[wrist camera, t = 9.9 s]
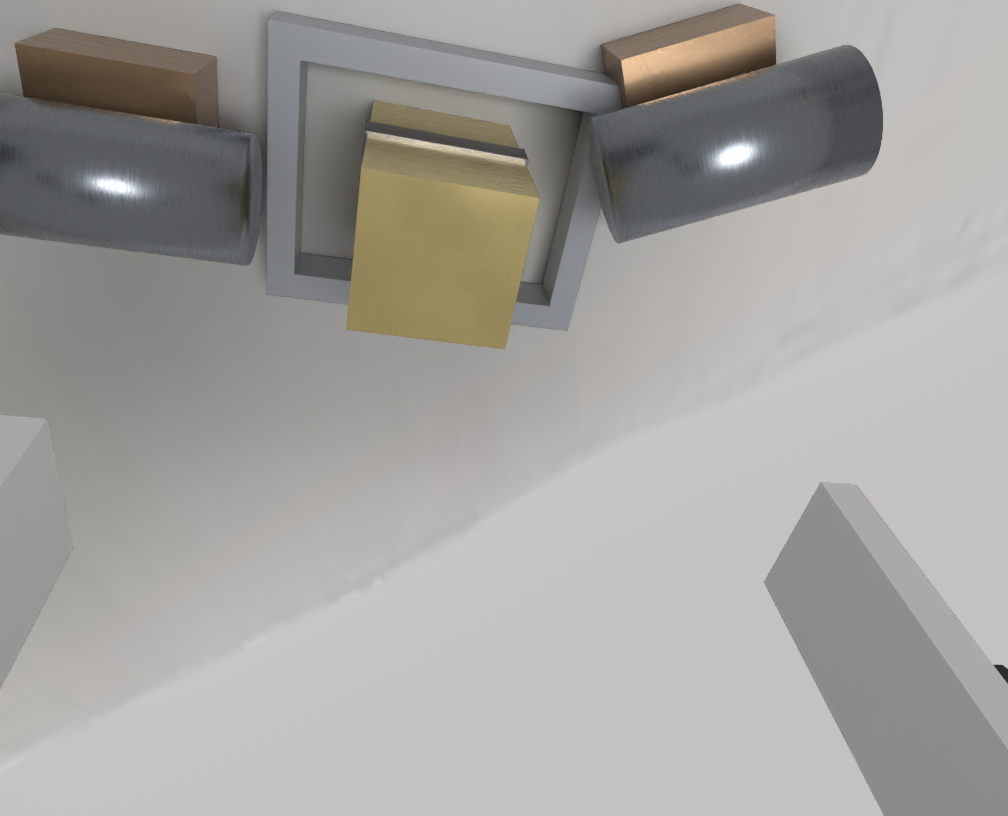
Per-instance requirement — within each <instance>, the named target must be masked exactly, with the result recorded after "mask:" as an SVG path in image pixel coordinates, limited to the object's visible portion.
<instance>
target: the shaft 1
mask: <svg viewBox="0 0 1008 816" xmlns="http://www.w3.org/2000/svg"><path fill="white" fill-rule="evenodd" d="M15 48H16V54H17V60H18V65H19V71H20V77H21V83H22V89H23V95H24V97H23V96H17V95H10V94H4V93H0V234H2V235H9V236H17V237H25V238H33V239H41V240H49V241H57V242H65V243H73V244H80V245H88V246H96V247H104V248H112V249H120V250H128V251H136V252H144V253H151V254H159V255H167V256H175V257H183V258H191V259H199V260H207V261H215V262H222V263H230V264H238V265H246V266H248V265H249V264H250V263H251V261H252V259H253V256H254V252H255V249H256V244H257V239H258V233H259V225H260V216H261V204H262V159H261V150H260V144H259V140H258V137H257V135H256V134H254V133H247V132H241V131H235V130H229V129H222V128H218V97H217V65H216V57H215V56H210V55H204V54H198V53H193V52H187V51H182V50H176V49H170V48H165V47H159V46H153V45H148V44H142V43H137V42H131V41H125V40H120V39H114V38H109V37H103V36H97V35H92V34H86V33H80V32H75V31H69V30H64V29H58V28H54V29H52V30H49V31H46V32H44V33H41V34H38V35H36V36H33V37H30V38H27V39H25V40H22V41H19V42H17V43H15Z"/></svg>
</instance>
